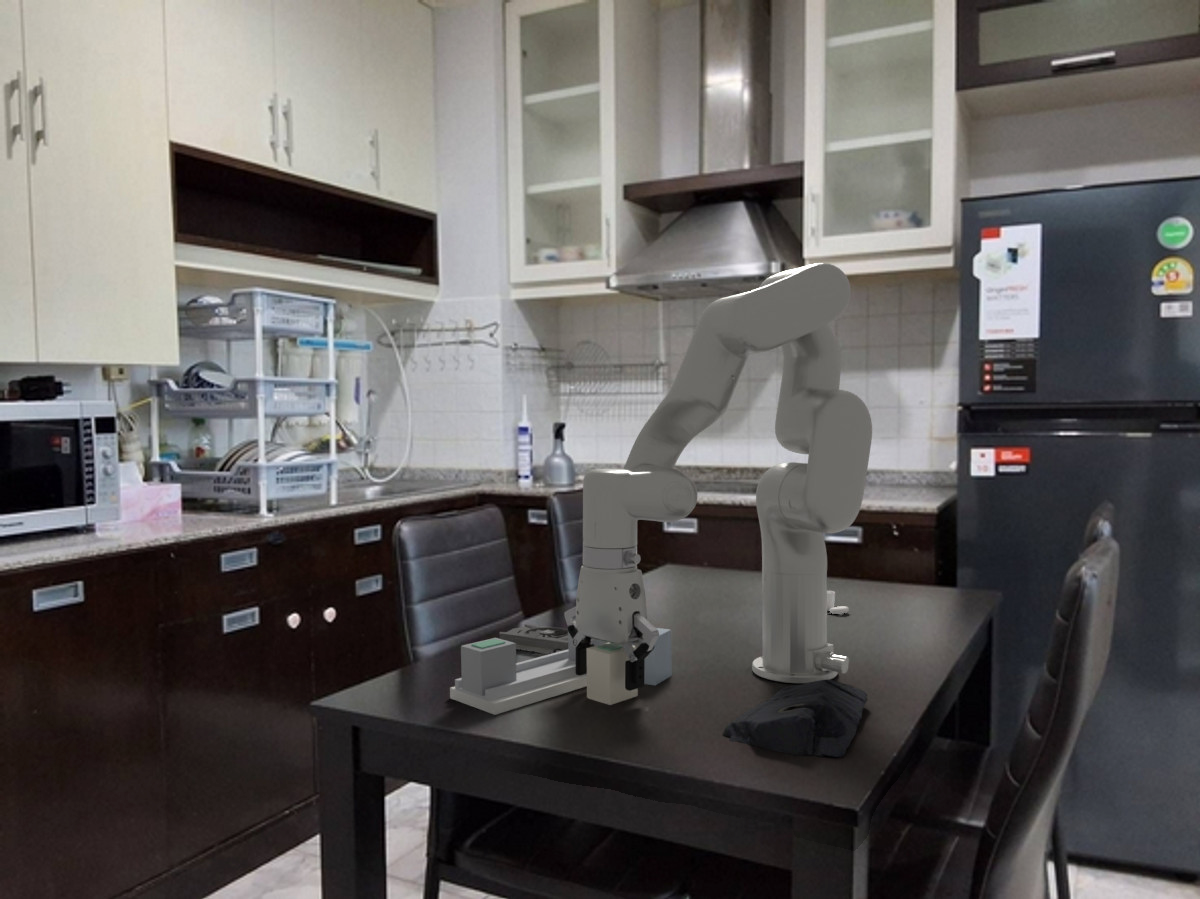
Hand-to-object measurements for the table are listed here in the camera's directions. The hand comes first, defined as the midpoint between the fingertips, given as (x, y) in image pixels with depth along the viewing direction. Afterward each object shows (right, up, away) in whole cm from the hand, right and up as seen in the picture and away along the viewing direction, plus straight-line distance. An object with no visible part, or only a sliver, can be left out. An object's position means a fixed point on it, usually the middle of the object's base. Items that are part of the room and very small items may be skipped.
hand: (609, 680), depth 127 cm
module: (+6, -2, +9) cm, 11 cm away
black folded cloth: (+25, -3, -11) cm, 27 cm away
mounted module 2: (-2, 0, +13) cm, 13 cm away
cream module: (0, -2, 0) cm, 2 cm away
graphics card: (-9, -2, +28) cm, 29 cm away
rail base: (-9, -2, +6) cm, 11 cm away
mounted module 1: (-17, -1, -1) cm, 17 cm away
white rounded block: (+42, 0, +49) cm, 65 cm away
